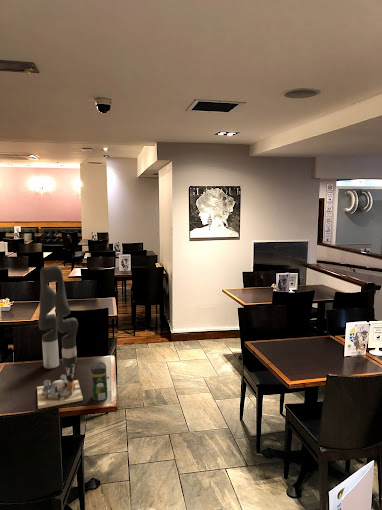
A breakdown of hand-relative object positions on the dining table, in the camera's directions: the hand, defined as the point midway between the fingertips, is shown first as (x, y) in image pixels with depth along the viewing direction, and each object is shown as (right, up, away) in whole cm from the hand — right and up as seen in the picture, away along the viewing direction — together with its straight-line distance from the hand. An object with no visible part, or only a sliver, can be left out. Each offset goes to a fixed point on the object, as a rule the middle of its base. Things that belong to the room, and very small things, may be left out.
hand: (71, 384), depth 220 cm
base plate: (-6, -5, -1) cm, 8 cm away
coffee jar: (+17, -6, -4) cm, 18 cm away
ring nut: (-6, -4, -2) cm, 7 cm away
